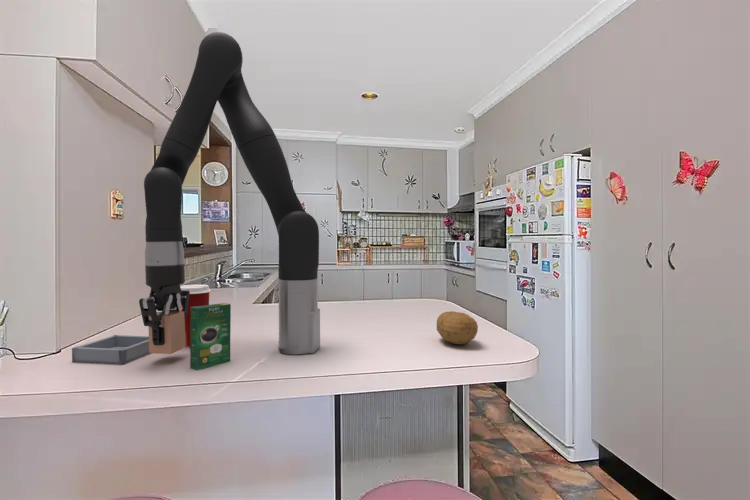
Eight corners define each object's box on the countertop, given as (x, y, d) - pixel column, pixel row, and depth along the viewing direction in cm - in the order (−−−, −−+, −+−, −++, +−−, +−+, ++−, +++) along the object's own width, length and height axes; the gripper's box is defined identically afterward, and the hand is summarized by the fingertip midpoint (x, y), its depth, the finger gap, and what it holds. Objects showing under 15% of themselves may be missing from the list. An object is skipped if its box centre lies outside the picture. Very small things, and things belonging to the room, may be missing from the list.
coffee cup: (217, 341, 107) (216, 284, 106) (200, 350, 98) (200, 288, 98) (186, 341, 107) (186, 283, 107) (167, 349, 99) (166, 287, 99)
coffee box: (224, 360, 91) (223, 301, 90) (232, 363, 89) (231, 302, 88) (189, 370, 84) (188, 306, 84) (197, 373, 82) (196, 308, 82)
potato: (459, 335, 114) (460, 306, 114) (486, 348, 100) (487, 316, 100) (427, 337, 111) (427, 308, 111) (450, 351, 98) (450, 318, 98)
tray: (160, 351, 98) (160, 336, 98) (123, 367, 86) (122, 350, 86) (115, 349, 99) (115, 334, 99) (72, 364, 88) (71, 348, 87)
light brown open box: (185, 347, 91) (184, 311, 91) (171, 353, 86) (170, 315, 86) (164, 346, 92) (163, 311, 91) (149, 353, 87) (148, 315, 86)
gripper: (159, 265, 80) (162, 351, 81) (200, 260, 95) (202, 333, 95) (124, 265, 81) (127, 350, 82) (169, 260, 96) (172, 333, 96)
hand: (167, 341), depth 89 cm, fingers closed on light brown open box, 5 cm apart
